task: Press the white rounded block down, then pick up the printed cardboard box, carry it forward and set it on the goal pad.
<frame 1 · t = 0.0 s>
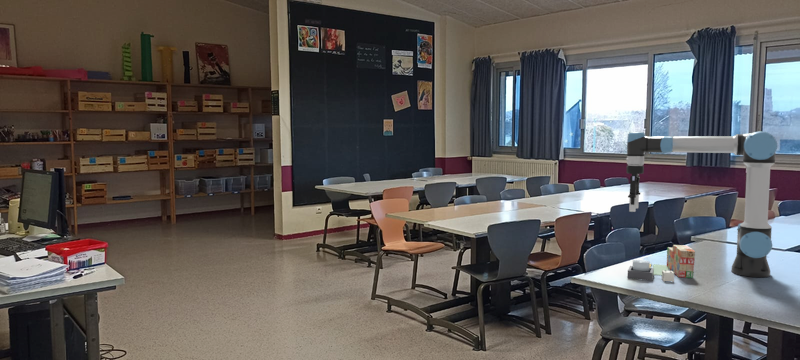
hand: (633, 209, 268), 28 cm above the table, fingers open, 13 cm apart
printed cardboard box: (679, 272, 262), on the table, touching square one pad
square one pad: (660, 270, 266), on the table
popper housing: (640, 277, 253), on the table
goal pad: (641, 268, 269), on the table
white rounded block: (641, 266, 253), point 5 cm above the table, slide at 0.0 cm
die: (667, 280, 247), on the table
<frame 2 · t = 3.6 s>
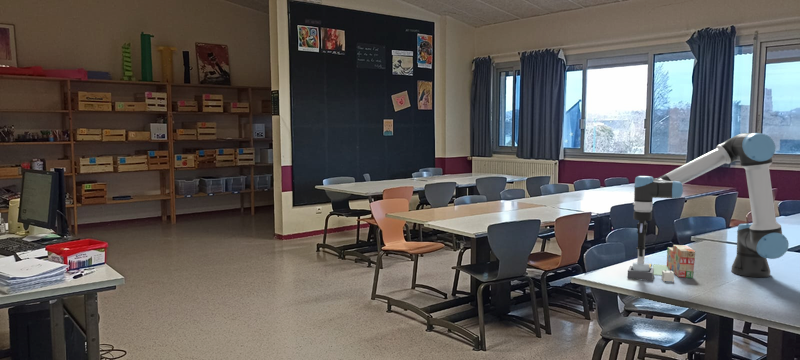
hand: (640, 263, 252), 6 cm above the table, fingers closed
white rounded block: (641, 268, 253), point 4 cm above the table, slide at -1.0 cm, touching gripper
everything else where it was.
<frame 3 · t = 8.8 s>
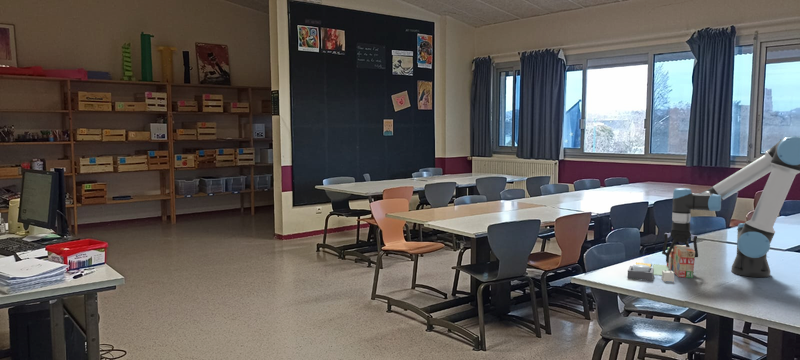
hand: (679, 270, 262), 1 cm above the table, fingers open, 8 cm apart
printed cardboard box: (679, 272, 262), on the table, touching gripper, square one pad
white rounded block: (640, 270, 253), point 3 cm above the table, slide at -2.1 cm
everything else where it was.
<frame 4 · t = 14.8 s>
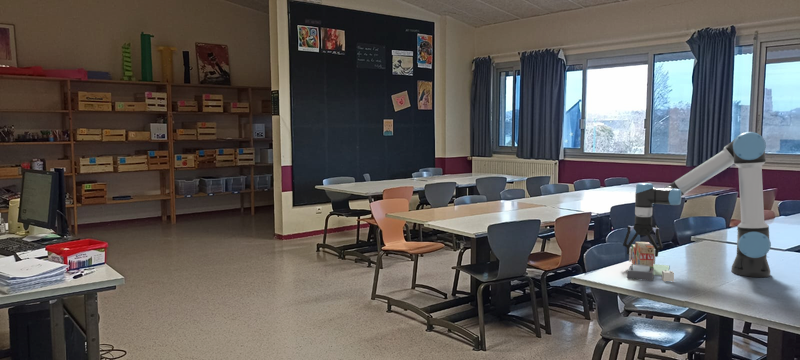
hand: (642, 262, 269), 3 cm above the table, fingers open, 10 cm apart
printed cardboard box: (641, 268, 269), resting on goal pad, touching square one pad
everything else where it was.
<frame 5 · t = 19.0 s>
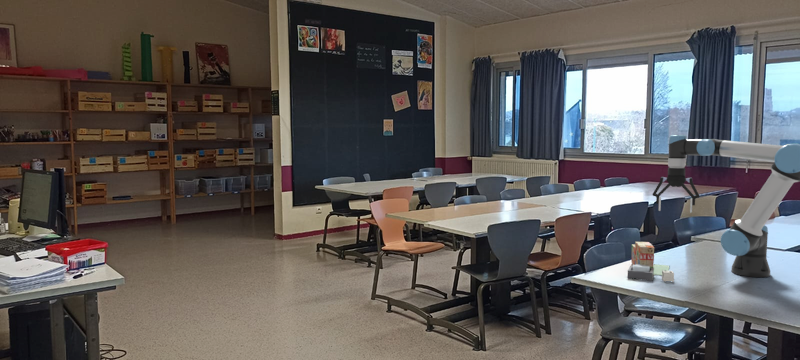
hand: (675, 211, 272), 27 cm above the table, fingers open, 13 cm apart
nothing on the table moved.
at the end: printed cardboard box inside the target area (0.0 cm from its centre), resting on goal pad; printed cardboard box tilted 0°; white rounded block slide at -2.1 cm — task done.
